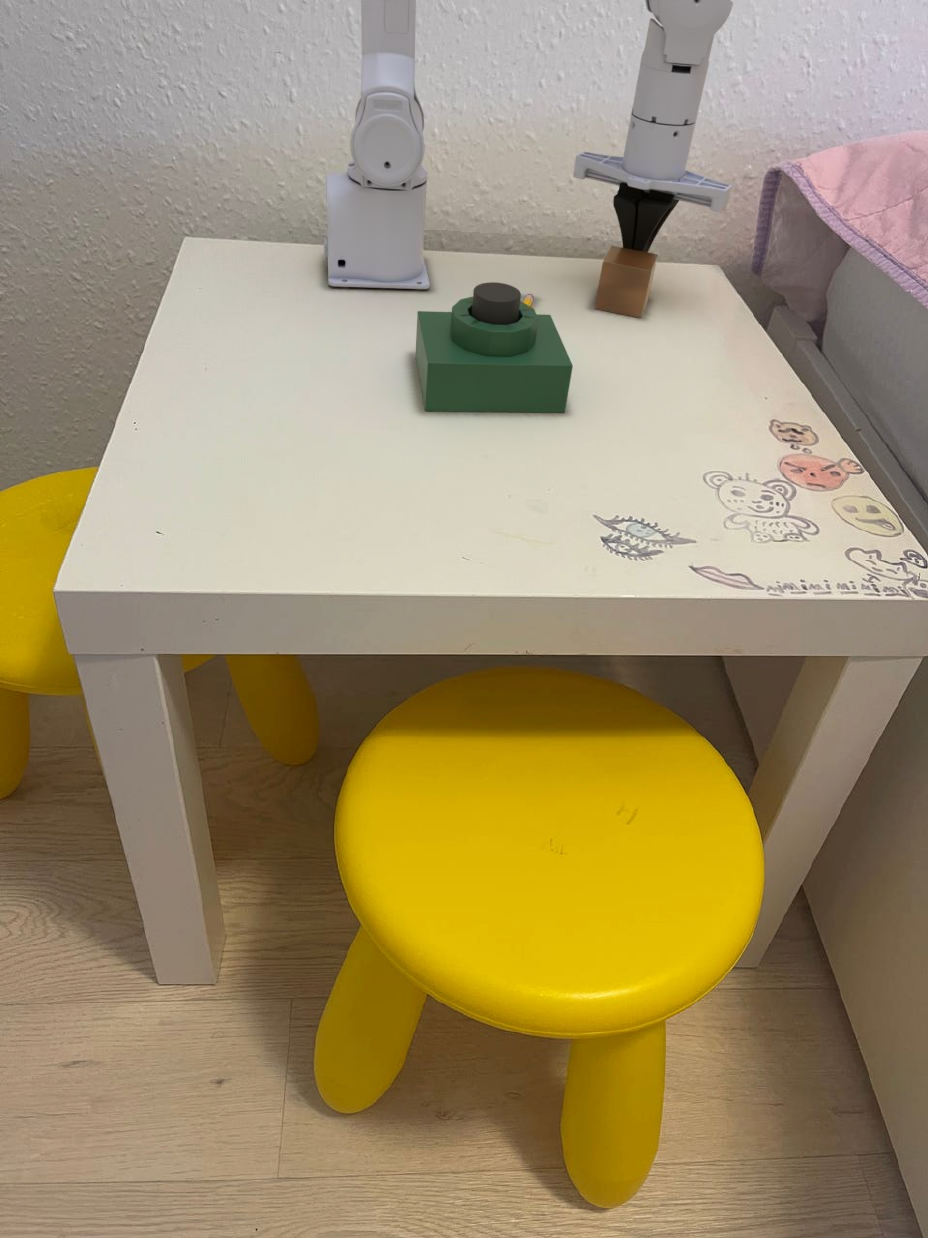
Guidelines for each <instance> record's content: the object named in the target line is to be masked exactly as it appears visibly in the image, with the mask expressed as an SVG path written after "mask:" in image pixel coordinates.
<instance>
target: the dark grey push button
mask: <svg viewBox="0 0 928 1238" xmlns="http://www.w3.org/2000/svg"><path fill="white" fill-rule="evenodd" d="M472 297H473V303H472V317H473V318H475V319H476V320H478V321H481V322H485V323H488V324H492V325H508V324H512V323H516V322H517V321H518V316H519V308H520V301H522V300H521V299H522V293H521V291H520V290H519V288H516V287H515V286H513V285H510V284H507V283H502V282H494V281H493V282H482V283H480V284H477V285H476V286H475V287H474V288H473V293H472Z"/></svg>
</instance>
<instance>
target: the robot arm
mask: <svg viewBox="0 0 928 1238" xmlns="http://www.w3.org/2000/svg"><path fill="white" fill-rule="evenodd" d="M644 1H645V7H646V10H647V11H648V12H649V13H651V14H652V15H653V17H654V18H655V19H654V18H652V17H650V18H649V22H648V28H647V33H646V39H645V44H644V48H643V51H642V53H641V58H640V63H639V70H638V74H637V81H636V86H635V92H634V98H633V103H632V107H631V112H630V118H629V124H628V128H627V129H628V130H627V135H626V140H625V144H624V145H625V146H624V152H623V156H617V155H609V154H602V153H595V152H590V151H586V150H583V151H582V152H580V153H578V154H576V156H575V160H574V167H573V175H572V177H573V178H574V179H578V180H585V179H589V180H593V181H597V182H601V183H605V184H610V185H615V186H618V190H617V192H616V193H617V194H615V195H614V196H613V199H612V203H613V208H614V212H615V215H616V218H617V220H618V225H619V229H620V234H621V242H622V248H627V249H632V250H638V251H643V252H648V253H649V251H650V249H651V246H652V244H653V243H654V241H655V239H656V237H657V235H658V233H659V232H660V230H661V228H662V227H663V225H664V224H665V222H666V221H667V219H668V218H669V216H670V215H671V213H672V212H673V210H674V209H675V208H676V207H677V205H678V203H679V202H685V203H689V204H693V205H698V206H702V207H706V208H709V210H710V211H712V212H716V213H722V212H723V211H724V210H726V208H727V207H728V204H729V199H730V195H731V192H732V188H733V185H732V184H728V183H725V182H722V181H719V180H715V179H712V178H709V177H706V176H704V175H701V174H698V173H695V172H692V171H689V170H687V169H686V168H687V163H688V159H689V154H690V151H691V145H692V141H693V136H694V132H695V127H696V122H697V119H698V114H699V109H700V105H701V101H702V96H703V91H704V88H705V83H706V78H707V74H708V69H709V65H710V57H711V56H710V55H711V53H712V47H713V43H714V39H715V34H717V33H718V32H719V31H720V30H721V28H722V27H723V26H724V24H725V23H726V22H727V20H728V18H729V16H730V14H731V11H732V9H733V5H734V2H733V1H732V0H644ZM416 10H417V0H360V13H361V14H360V15H361V16H360V17H361V22H360V23H361V69H360V70H361V73H360V75H361V76H360V98H359V100H358V102H357V104H356V109H355V116H354V118H355V119H354V121H355V122H354V126H353V128H352V131H351V134H350V140H349V145H350V146H349V149H350V154H351V155H350V156H351V158H352V160H351V161H349V162H348V166H347V171H345V172H338V173H337V172H336V173H326V175H325V177H326V178H325V179H326V181H325V183H326V184H325V186H326V188H325V189H326V236H323V257H324V259H326V258H327V279H328V285H329V286H331V287H337V288H339V287H340V288H341V287H343V288H344V287H345V288H370V289H371V288H373V289H375V288H376V289H406V290H428V289H430V287H431V286H430V285H431V284H430V283H431V282H430V279H429V275H428V271H427V270H428V269H427V266H426V262H425V257H424V247H425V245H424V244H425V227H426V226H425V224H426V209H427V208H426V207H427V186H428V171H427V170H426V168H425V167H423V166H422V163H423V161H424V157H425V147H426V146H425V138H424V135H423V133H424V129H425V113H424V110H423V106H422V104H421V101H420V100H419V96H418V95H417V92H416V86H415V70H416V69H415V65H416V17H417V16H416V15H417V14H416V13H417V11H416ZM659 23H660V24H659Z"/></svg>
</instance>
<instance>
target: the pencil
mask: <svg viewBox="0 0 928 1238" xmlns="http://www.w3.org/2000/svg"><path fill="white" fill-rule="evenodd" d="M522 302H523V303H525V304H526V305H528V306H530V307H532V303H533V302H534V295H533V294H531V293H527V295H525V297H524V299H523V301H522Z"/></svg>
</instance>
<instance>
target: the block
mask: <svg viewBox="0 0 928 1238" xmlns="http://www.w3.org/2000/svg"><path fill="white" fill-rule="evenodd" d="M658 256H659V254H657V253H653V252H649V251H648V252H643V251H638V250H632V249H627V248H623V246H622V247H621V246H617V245H611V246H610V248H609V249H608V251H607V253H606V255H605V257H604V259H603V261H602V265H601V270H600V276H599V283H598V286H597V293H596V297H595V304H594V310H600V311H603V312H604V311H605V312H610V313H613V314H619V315H623V316H628V317H634V318H639V319H642V317H643V314H644V311H645V309H646V306H647V304H648V301H649V297H650V293H651V288H652V284H653V279H654V275H655V270H656V266H657V262H658Z"/></svg>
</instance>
